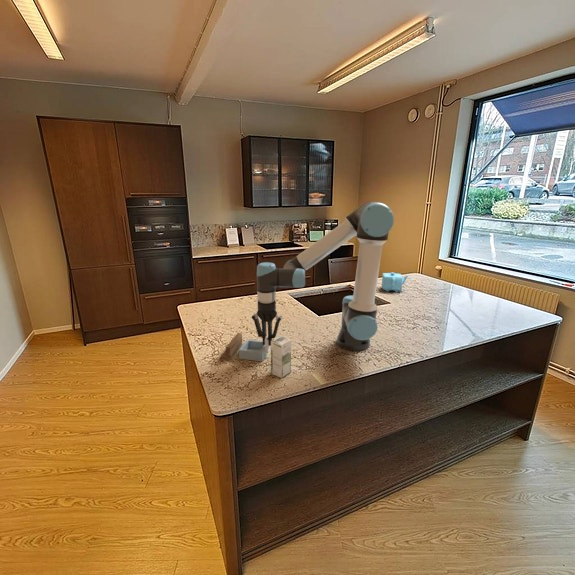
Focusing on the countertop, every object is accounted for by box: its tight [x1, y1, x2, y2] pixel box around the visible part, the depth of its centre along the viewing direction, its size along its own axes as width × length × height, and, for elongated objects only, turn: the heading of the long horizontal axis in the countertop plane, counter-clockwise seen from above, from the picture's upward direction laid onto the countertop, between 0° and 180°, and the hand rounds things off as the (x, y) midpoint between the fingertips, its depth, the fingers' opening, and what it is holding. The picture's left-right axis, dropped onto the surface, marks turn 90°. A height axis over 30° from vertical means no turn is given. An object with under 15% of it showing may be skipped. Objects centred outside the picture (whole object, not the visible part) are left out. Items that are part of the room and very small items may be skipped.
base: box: [219, 332, 243, 361], centre depth 142 cm, size 5×14×6 cm, turn 167°
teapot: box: [381, 272, 411, 293], centre depth 227 cm, size 18×16×13 cm
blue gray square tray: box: [238, 339, 268, 362], centre depth 140 cm, size 10×10×4 cm
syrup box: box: [270, 335, 292, 379], centre depth 124 cm, size 6×6×14 cm
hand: (267, 351), depth 139 cm, fingers closed
